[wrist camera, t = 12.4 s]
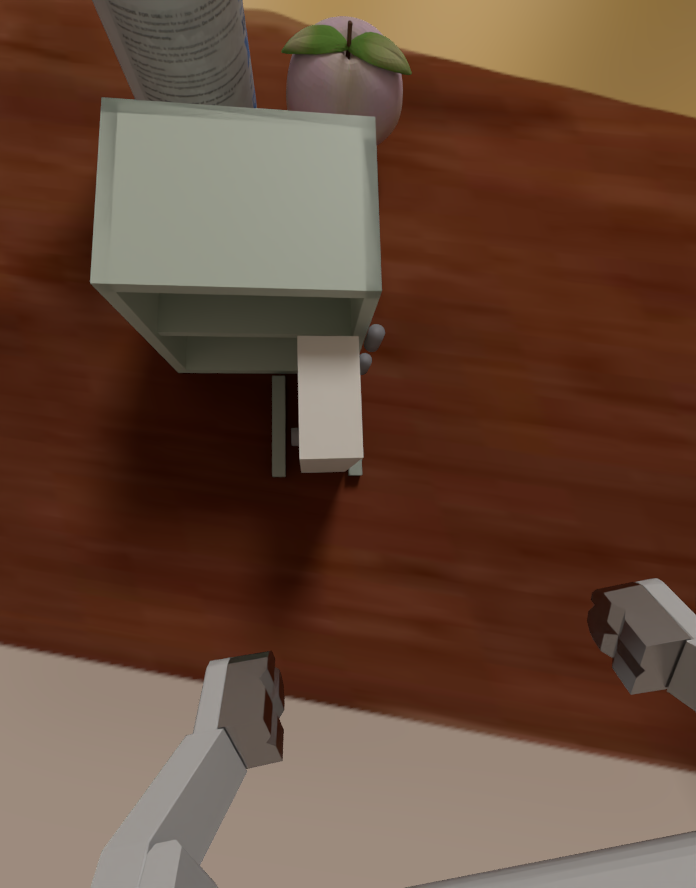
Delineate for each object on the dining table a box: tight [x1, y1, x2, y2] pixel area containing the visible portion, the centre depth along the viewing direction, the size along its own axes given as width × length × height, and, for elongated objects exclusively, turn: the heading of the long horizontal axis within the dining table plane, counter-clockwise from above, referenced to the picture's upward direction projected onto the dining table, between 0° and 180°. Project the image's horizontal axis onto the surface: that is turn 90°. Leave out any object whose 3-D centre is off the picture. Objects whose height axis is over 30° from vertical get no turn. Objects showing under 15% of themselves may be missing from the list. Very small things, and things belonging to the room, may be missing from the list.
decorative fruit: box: [281, 16, 412, 146], centre depth 33 cm, size 9×8×10 cm
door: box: [291, 336, 363, 473], centre depth 29 cm, size 7×4×11 cm, turn 2°
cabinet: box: [90, 97, 385, 477], centre depth 28 cm, size 18×15×14 cm
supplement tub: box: [92, 0, 257, 108], centre depth 30 cm, size 10×10×15 cm
